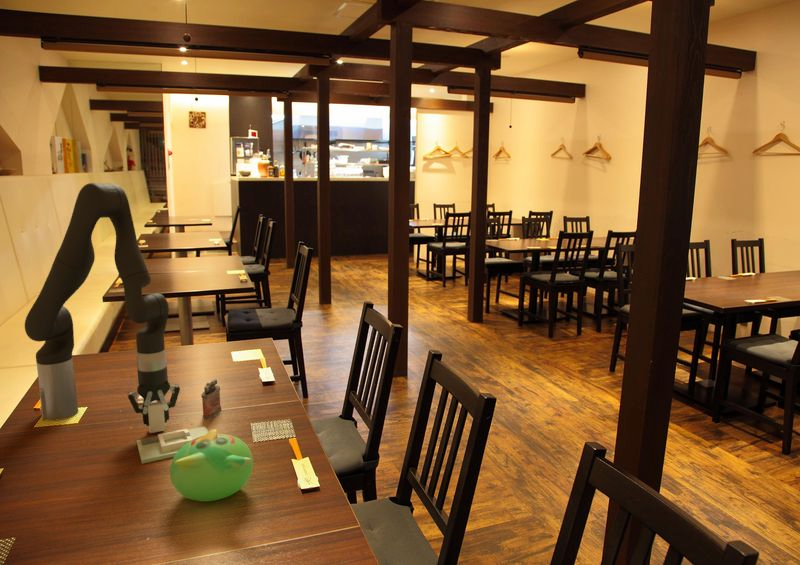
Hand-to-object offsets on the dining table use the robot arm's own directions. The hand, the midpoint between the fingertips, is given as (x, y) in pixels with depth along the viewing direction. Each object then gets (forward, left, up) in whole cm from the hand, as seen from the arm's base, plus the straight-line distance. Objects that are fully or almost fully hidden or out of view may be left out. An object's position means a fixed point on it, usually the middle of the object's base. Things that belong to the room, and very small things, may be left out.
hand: (156, 422), depth 164 cm
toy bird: (+7, -40, -3) cm, 41 cm away
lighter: (+16, +5, -3) cm, 17 cm away
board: (+3, -11, -3) cm, 12 cm away
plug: (0, 0, -2) cm, 2 cm away
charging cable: (+3, +38, -3) cm, 39 cm away
